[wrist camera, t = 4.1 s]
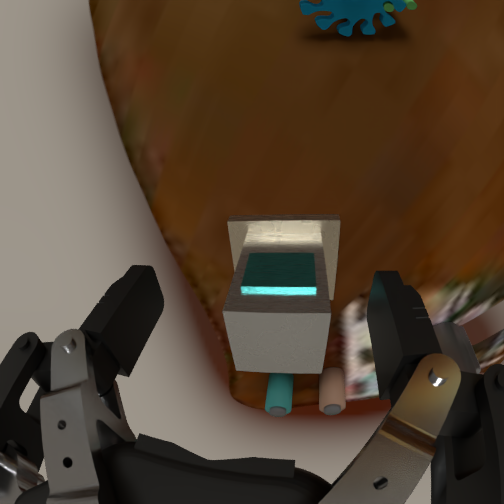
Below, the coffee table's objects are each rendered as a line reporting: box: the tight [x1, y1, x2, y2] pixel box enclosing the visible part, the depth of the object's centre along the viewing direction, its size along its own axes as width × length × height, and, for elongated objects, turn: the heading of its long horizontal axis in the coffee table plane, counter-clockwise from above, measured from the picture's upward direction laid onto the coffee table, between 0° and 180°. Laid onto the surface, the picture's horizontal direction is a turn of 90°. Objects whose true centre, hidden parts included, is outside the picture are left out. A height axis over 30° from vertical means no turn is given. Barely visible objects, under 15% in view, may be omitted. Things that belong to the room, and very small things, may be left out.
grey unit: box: [223, 214, 340, 373], centre depth 28 cm, size 12×11×14 cm
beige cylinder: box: [319, 367, 346, 415], centre depth 42 cm, size 4×4×8 cm
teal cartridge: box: [265, 373, 293, 417], centre depth 44 cm, size 4×4×8 cm
